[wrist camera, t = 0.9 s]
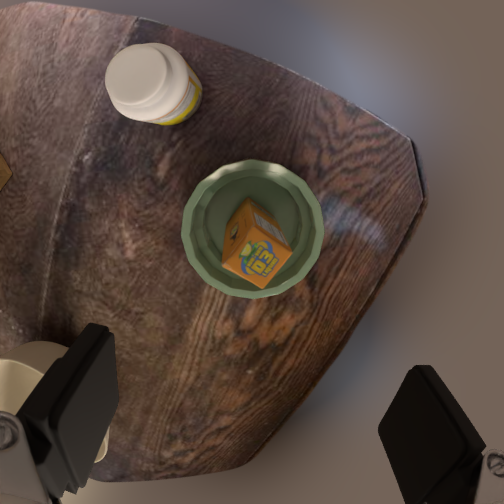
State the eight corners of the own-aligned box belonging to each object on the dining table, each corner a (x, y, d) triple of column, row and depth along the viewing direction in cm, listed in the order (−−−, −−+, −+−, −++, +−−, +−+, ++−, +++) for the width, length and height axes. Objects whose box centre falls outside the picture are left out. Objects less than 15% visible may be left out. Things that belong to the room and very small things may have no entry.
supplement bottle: (140, 74, 25) (91, 44, 15) (200, 62, 24) (177, 22, 15) (145, 131, 26) (96, 127, 17) (206, 121, 26) (184, 108, 17)
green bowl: (167, 206, 29) (153, 217, 24) (267, 134, 27) (271, 131, 22) (238, 297, 32) (236, 320, 27) (334, 234, 30) (348, 249, 25)
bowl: (79, 419, 38) (55, 468, 28) (7, 337, 33) (-32, 378, 24) (156, 394, 36) (137, 455, 26) (72, 290, 31) (24, 338, 22)
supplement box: (256, 246, 30) (260, 294, 20) (225, 224, 29) (214, 264, 19) (278, 217, 29) (294, 253, 19) (247, 194, 28) (247, 219, 19)
